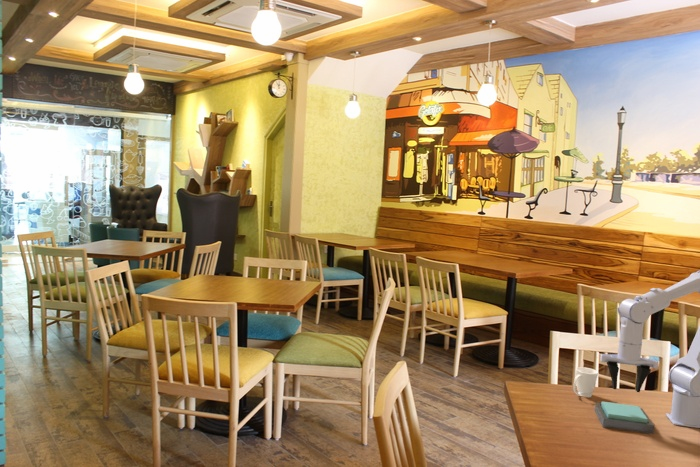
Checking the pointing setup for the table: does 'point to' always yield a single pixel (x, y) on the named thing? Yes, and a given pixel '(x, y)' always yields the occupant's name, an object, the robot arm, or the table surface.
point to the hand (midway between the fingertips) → (625, 389)
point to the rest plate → (623, 412)
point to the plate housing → (624, 422)
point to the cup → (585, 381)
